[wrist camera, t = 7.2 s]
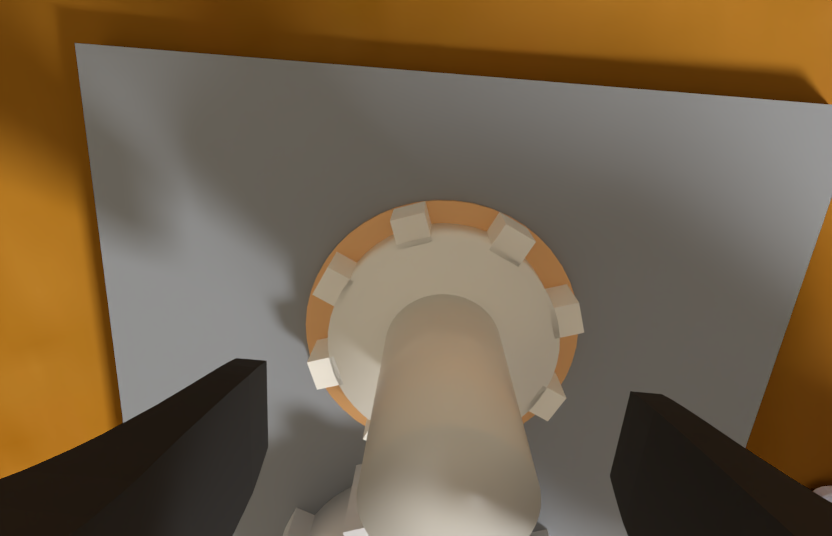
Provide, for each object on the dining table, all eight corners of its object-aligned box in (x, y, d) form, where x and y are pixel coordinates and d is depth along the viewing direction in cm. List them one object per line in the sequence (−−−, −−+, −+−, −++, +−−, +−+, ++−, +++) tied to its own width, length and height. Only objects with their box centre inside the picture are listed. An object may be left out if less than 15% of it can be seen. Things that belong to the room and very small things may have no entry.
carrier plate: (831, 105, 13) (1027, 115, 9) (648, 667, 19) (708, 830, 15) (100, 46, 13) (-63, 27, 9) (166, 625, 20) (92, 775, 15)
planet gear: (594, 225, 13) (729, 343, 7) (537, 444, 15) (603, 675, 9) (329, 187, 13) (241, 274, 7) (310, 413, 15) (231, 626, 9)
